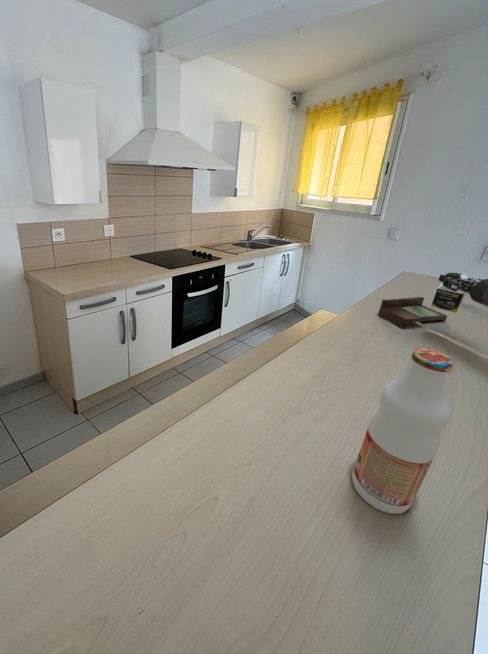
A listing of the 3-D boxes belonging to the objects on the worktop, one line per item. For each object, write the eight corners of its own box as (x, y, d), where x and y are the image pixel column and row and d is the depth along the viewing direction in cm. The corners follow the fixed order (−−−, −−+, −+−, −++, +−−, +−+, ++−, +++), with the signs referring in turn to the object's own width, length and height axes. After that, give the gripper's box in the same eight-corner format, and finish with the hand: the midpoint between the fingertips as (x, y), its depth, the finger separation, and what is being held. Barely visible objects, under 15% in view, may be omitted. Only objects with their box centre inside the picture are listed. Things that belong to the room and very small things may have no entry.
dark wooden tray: (416, 312, 135) (421, 296, 132) (443, 325, 124) (450, 308, 121) (377, 315, 130) (382, 299, 127) (402, 329, 119) (408, 312, 116)
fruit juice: (369, 517, 53) (427, 375, 42) (341, 467, 61) (382, 339, 50) (423, 515, 53) (494, 375, 42) (388, 467, 62) (439, 340, 51)
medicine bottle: (430, 306, 111) (442, 273, 106) (434, 301, 115) (446, 269, 111) (456, 313, 106) (470, 279, 101) (459, 308, 111) (473, 274, 106)
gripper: (524, 284, 93) (473, 267, 108) (477, 283, 92) (433, 266, 107) (513, 307, 95) (465, 288, 111) (467, 307, 95) (425, 287, 110)
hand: (449, 277), depth 109 cm, fingers closed on medicine bottle, 6 cm apart
